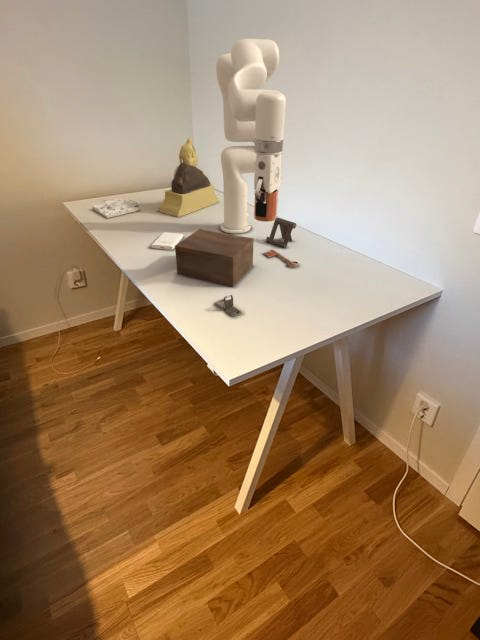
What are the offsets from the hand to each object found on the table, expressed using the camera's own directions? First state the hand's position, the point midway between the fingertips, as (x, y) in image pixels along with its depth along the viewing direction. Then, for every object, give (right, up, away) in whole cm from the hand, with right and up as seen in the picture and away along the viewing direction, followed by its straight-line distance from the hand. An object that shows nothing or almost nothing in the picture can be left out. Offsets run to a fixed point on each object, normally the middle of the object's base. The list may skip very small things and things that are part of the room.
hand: (265, 212), depth 112 cm
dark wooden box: (-15, -15, +15) cm, 27 cm away
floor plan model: (-67, +22, +69) cm, 98 cm away
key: (+7, -10, +23) cm, 26 cm away
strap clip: (-11, -29, -4) cm, 31 cm away
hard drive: (-35, -2, +34) cm, 49 cm away
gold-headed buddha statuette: (-32, +23, +71) cm, 81 cm away
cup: (0, -1, +1) cm, 2 cm away
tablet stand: (+8, -2, +36) cm, 37 cm away
